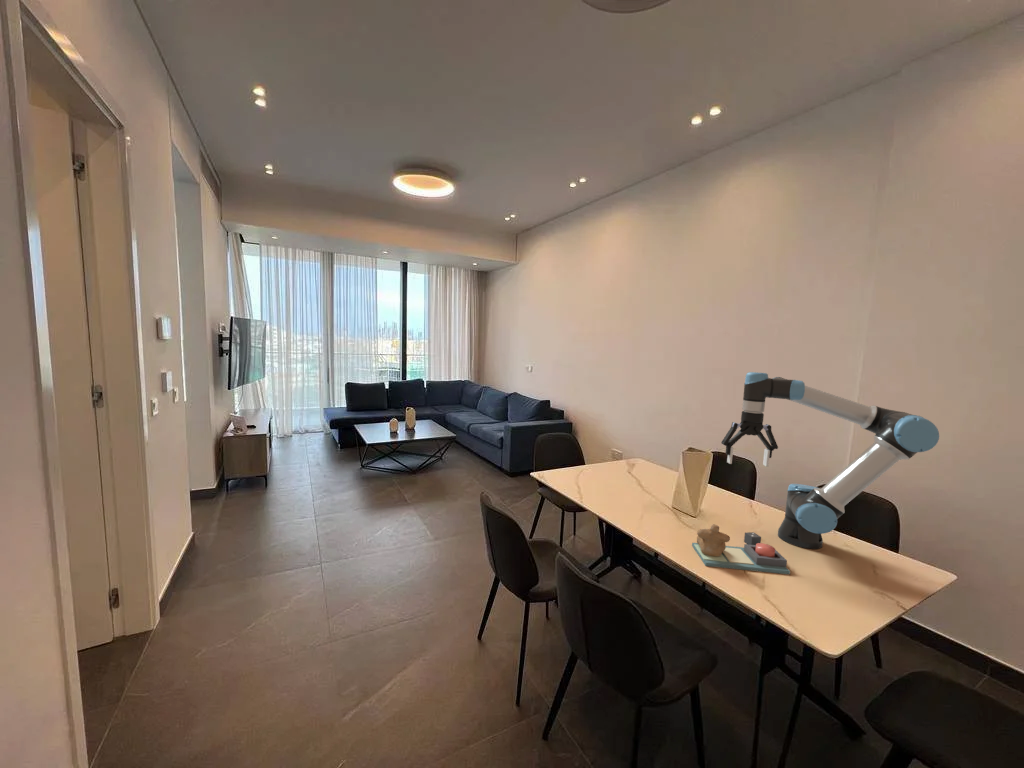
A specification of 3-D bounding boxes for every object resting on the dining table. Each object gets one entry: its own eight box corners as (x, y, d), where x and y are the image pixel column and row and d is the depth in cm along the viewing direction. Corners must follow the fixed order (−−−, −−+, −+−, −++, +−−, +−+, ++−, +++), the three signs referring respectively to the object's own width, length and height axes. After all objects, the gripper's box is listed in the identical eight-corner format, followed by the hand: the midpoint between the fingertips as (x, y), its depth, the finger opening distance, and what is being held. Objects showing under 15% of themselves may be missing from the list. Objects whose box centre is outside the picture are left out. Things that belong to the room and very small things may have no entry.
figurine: (725, 548, 156) (732, 517, 150) (725, 566, 148) (732, 534, 142) (694, 540, 160) (700, 509, 154) (693, 557, 152) (698, 526, 146)
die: (752, 541, 166) (753, 531, 166) (760, 546, 162) (761, 536, 162) (743, 542, 165) (744, 532, 165) (751, 547, 161) (752, 536, 161)
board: (768, 552, 157) (769, 543, 157) (789, 574, 142) (791, 564, 142) (691, 545, 160) (692, 536, 160) (705, 565, 145) (706, 555, 145)
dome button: (768, 554, 153) (770, 544, 152) (777, 562, 147) (778, 552, 146) (751, 552, 153) (753, 542, 153) (759, 560, 147) (760, 550, 147)
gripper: (781, 412, 163) (775, 464, 165) (715, 408, 166) (711, 459, 168) (792, 415, 156) (785, 469, 158) (723, 411, 159) (718, 464, 161)
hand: (747, 464), depth 163 cm, fingers open, 13 cm apart
